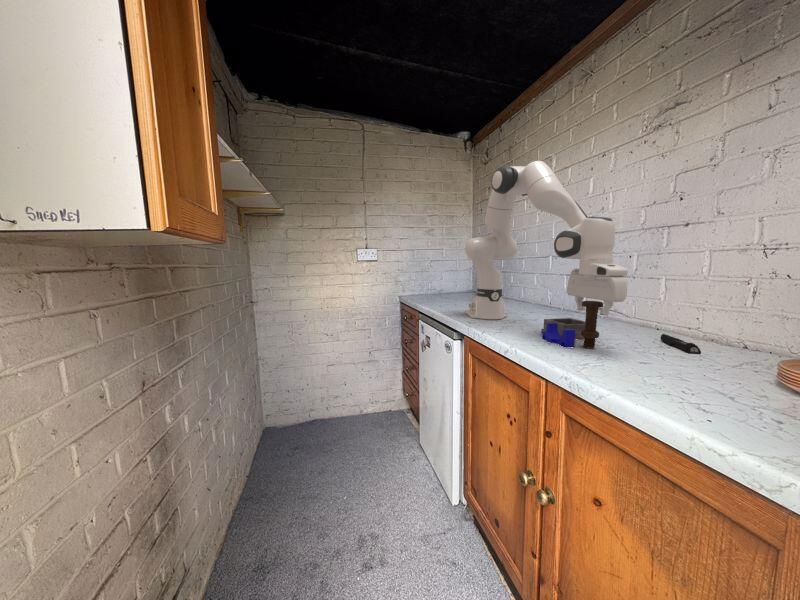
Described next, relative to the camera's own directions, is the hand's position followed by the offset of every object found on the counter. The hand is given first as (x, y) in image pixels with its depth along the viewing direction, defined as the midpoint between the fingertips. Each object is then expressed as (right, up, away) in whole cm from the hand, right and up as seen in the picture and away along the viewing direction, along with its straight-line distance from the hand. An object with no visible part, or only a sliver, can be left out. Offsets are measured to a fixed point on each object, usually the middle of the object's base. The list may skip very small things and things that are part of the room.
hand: (592, 312), depth 97 cm
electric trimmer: (+29, -12, +2) cm, 31 cm away
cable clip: (-8, -11, +7) cm, 15 cm away
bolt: (0, -12, +2) cm, 12 cm away
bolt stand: (+2, -9, +18) cm, 20 cm away
